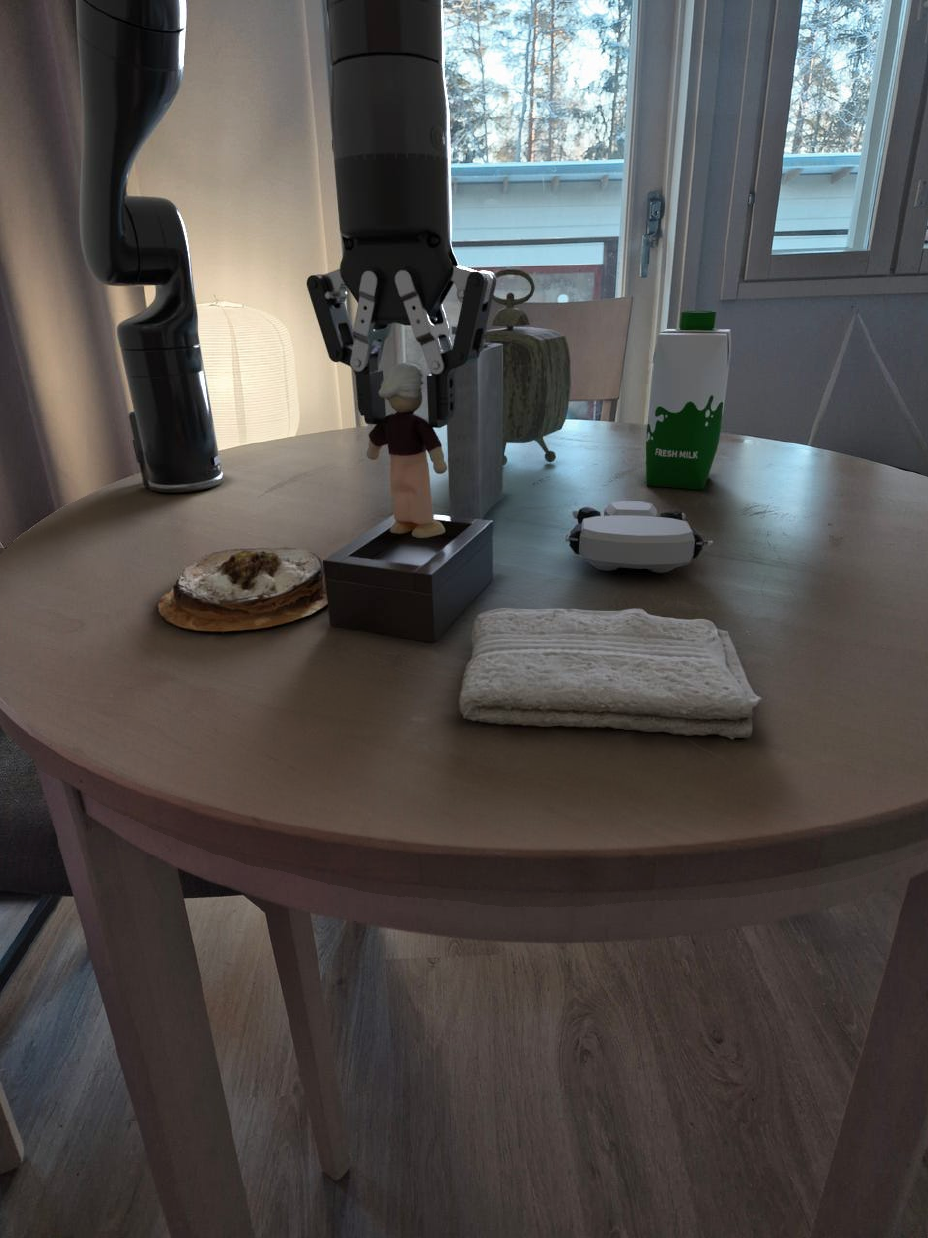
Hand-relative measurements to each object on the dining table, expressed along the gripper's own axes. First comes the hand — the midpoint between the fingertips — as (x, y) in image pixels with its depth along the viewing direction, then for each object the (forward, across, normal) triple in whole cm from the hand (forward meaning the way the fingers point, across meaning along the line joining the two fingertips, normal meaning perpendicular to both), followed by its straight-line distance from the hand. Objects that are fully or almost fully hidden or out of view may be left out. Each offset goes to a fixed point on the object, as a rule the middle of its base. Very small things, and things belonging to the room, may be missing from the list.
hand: (406, 422), depth 54 cm
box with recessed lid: (+15, 0, 0) cm, 15 cm away
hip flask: (+15, +4, -24) cm, 28 cm away
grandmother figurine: (+9, 0, 0) cm, 9 cm away
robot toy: (+15, -15, -16) cm, 26 cm away
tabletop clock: (+15, +8, -48) cm, 51 cm away
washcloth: (+15, -17, +8) cm, 24 cm away
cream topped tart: (+15, +14, +4) cm, 21 cm away
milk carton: (+15, -16, -45) cm, 50 cm away
